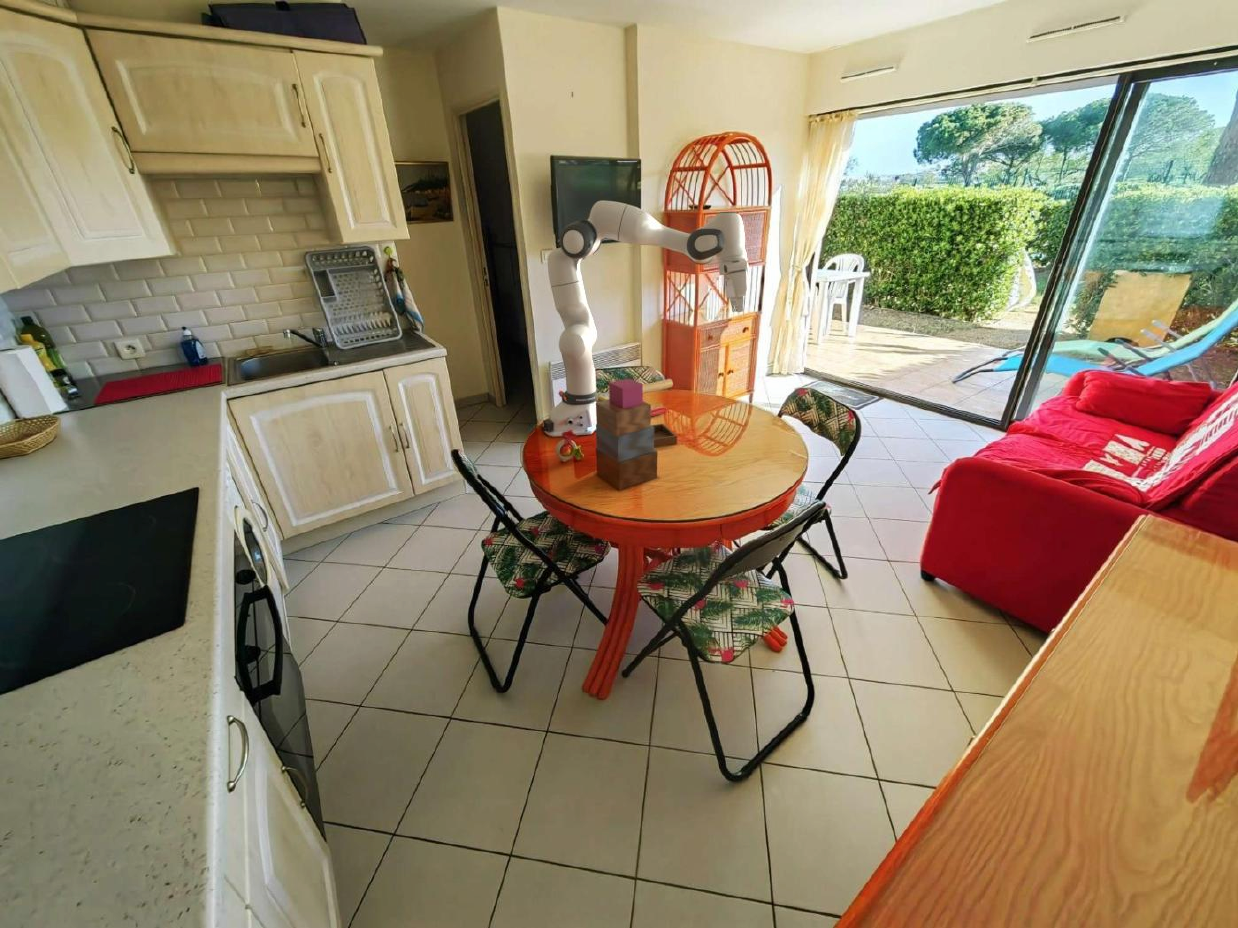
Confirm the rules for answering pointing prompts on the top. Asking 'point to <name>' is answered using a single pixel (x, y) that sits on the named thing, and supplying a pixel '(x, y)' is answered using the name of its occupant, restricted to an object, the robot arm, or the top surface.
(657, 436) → the walnut tray
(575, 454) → the bird rattle
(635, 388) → the mulberry block
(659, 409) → the candy bar
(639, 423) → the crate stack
